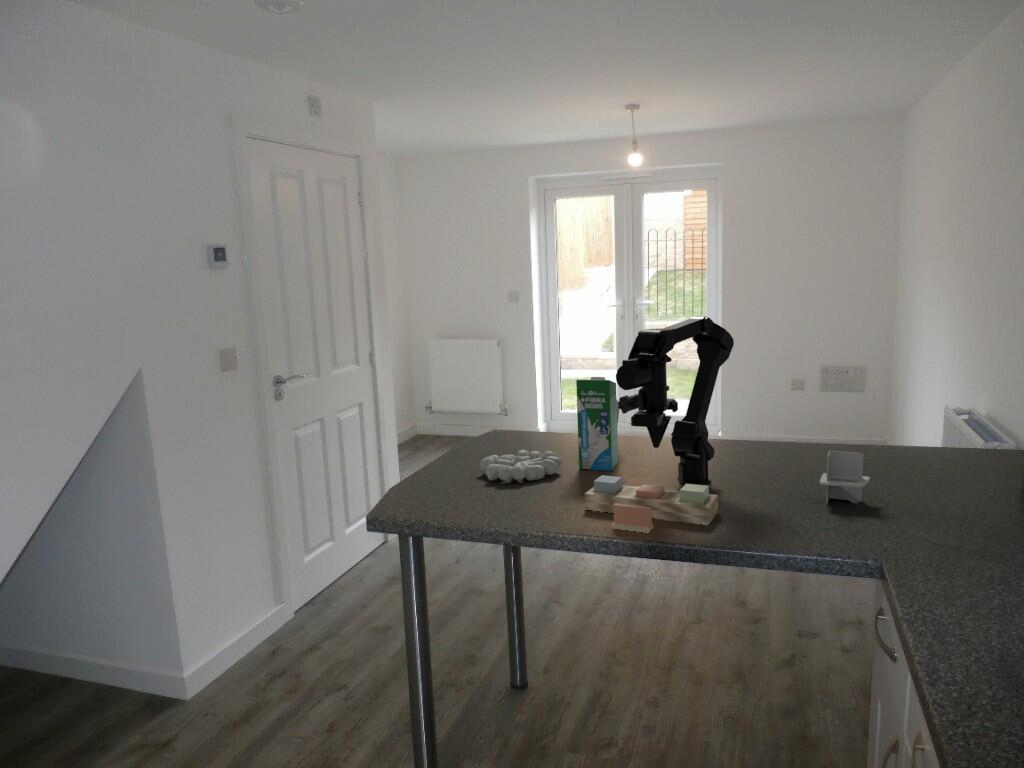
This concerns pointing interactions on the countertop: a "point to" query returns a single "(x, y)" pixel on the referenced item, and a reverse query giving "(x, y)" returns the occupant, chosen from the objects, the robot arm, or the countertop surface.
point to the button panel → (656, 505)
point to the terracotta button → (650, 491)
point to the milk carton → (597, 424)
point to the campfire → (520, 465)
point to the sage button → (694, 493)
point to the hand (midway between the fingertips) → (656, 447)
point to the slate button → (608, 484)
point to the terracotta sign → (632, 518)
